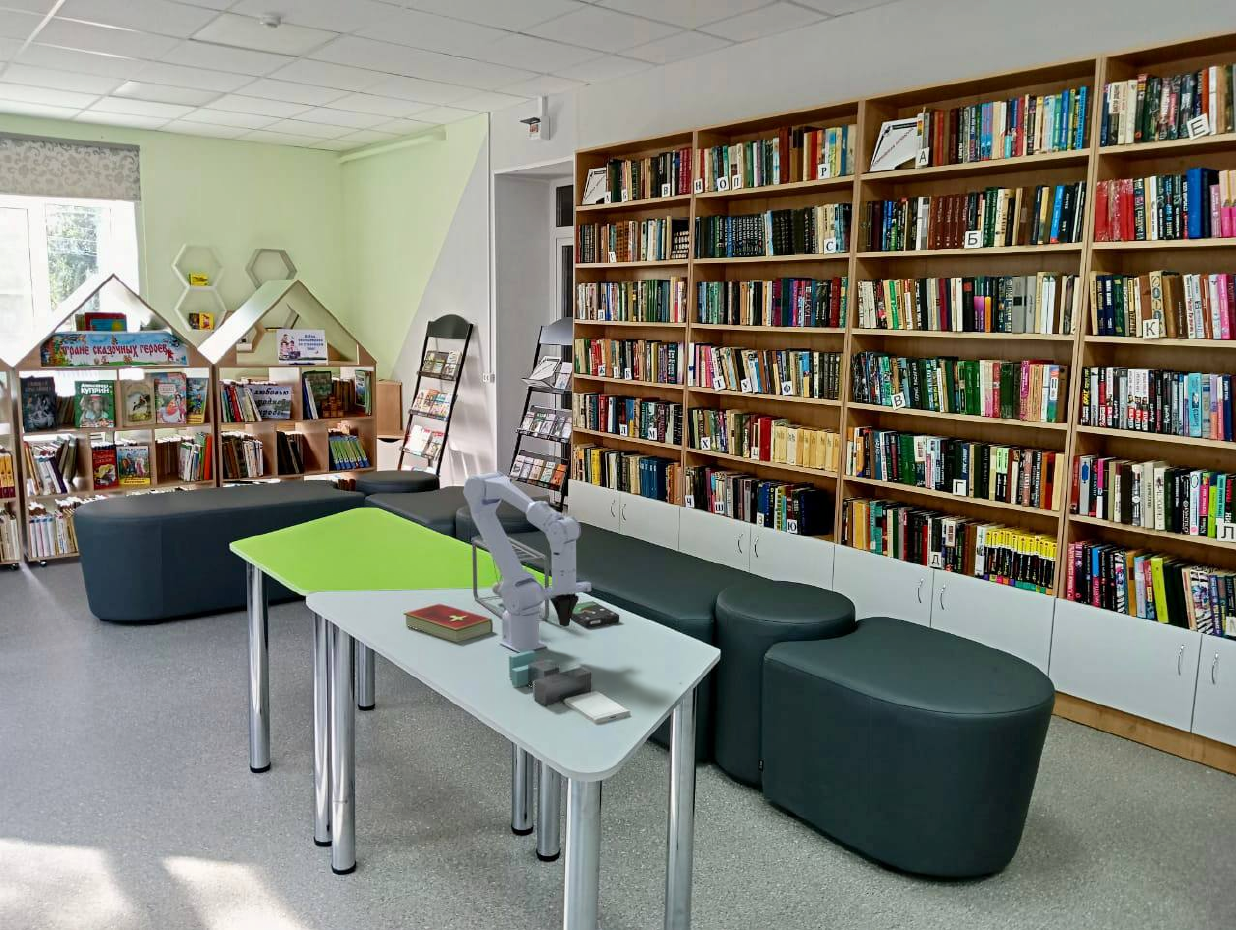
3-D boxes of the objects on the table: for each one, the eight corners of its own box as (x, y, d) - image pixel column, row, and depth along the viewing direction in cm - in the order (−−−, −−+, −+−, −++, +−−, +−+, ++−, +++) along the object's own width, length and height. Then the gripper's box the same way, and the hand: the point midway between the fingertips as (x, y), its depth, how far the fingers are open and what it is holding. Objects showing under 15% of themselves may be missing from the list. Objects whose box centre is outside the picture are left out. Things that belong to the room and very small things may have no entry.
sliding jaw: (501, 679, 214) (501, 657, 213) (538, 669, 220) (538, 648, 220) (517, 687, 209) (516, 665, 209) (554, 676, 216) (554, 655, 215)
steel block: (528, 685, 211) (528, 663, 211) (543, 681, 214) (543, 659, 213) (544, 694, 207) (544, 671, 206) (559, 689, 209) (559, 667, 209)
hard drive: (564, 698, 201) (595, 718, 191) (597, 690, 206) (630, 709, 195) (564, 706, 201) (595, 726, 191) (597, 698, 206) (630, 717, 195)
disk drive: (620, 624, 256) (593, 610, 269) (620, 614, 256) (593, 600, 268) (585, 630, 251) (559, 615, 263) (585, 620, 250) (559, 605, 263)
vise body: (529, 697, 204) (528, 677, 204) (574, 684, 212) (574, 664, 211) (545, 706, 200) (545, 685, 199) (591, 692, 207) (591, 672, 207)
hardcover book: (440, 617, 262) (439, 602, 261) (492, 633, 248) (492, 617, 248) (404, 627, 253) (403, 612, 252) (456, 644, 239) (456, 628, 239)
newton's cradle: (472, 599, 278) (471, 538, 275) (507, 594, 283) (506, 534, 280) (513, 627, 252) (512, 561, 249) (550, 622, 257) (549, 556, 254)
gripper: (548, 577, 219) (548, 635, 221) (598, 567, 228) (599, 623, 230) (530, 571, 225) (531, 628, 227) (581, 562, 234) (581, 616, 236)
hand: (564, 625), depth 229 cm, fingers closed
